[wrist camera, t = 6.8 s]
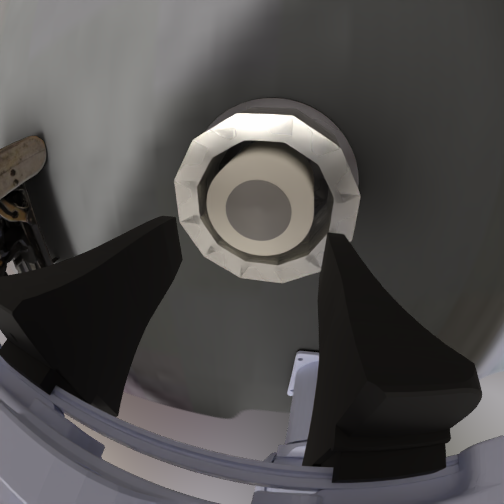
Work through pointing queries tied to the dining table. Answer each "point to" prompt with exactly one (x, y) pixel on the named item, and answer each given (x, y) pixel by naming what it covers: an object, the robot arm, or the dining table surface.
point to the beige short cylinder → (263, 199)
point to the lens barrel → (298, 137)
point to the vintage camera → (21, 207)
